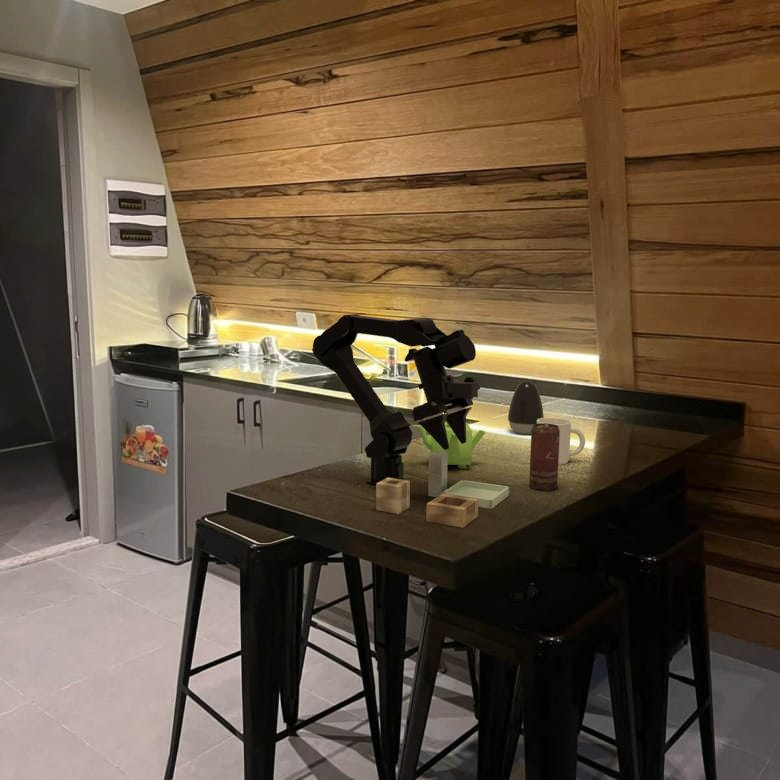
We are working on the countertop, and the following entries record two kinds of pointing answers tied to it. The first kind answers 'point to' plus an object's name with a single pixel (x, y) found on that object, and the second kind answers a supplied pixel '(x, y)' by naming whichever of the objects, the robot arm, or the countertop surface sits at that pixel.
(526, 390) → the dark tapered diffuser
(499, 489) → the tray
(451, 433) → the kettle
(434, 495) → the grey wood bar
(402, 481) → the beech block
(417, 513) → the countertop surface
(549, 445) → the can
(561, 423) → the mug
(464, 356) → the robot arm
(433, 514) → the oak block
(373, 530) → the countertop surface
